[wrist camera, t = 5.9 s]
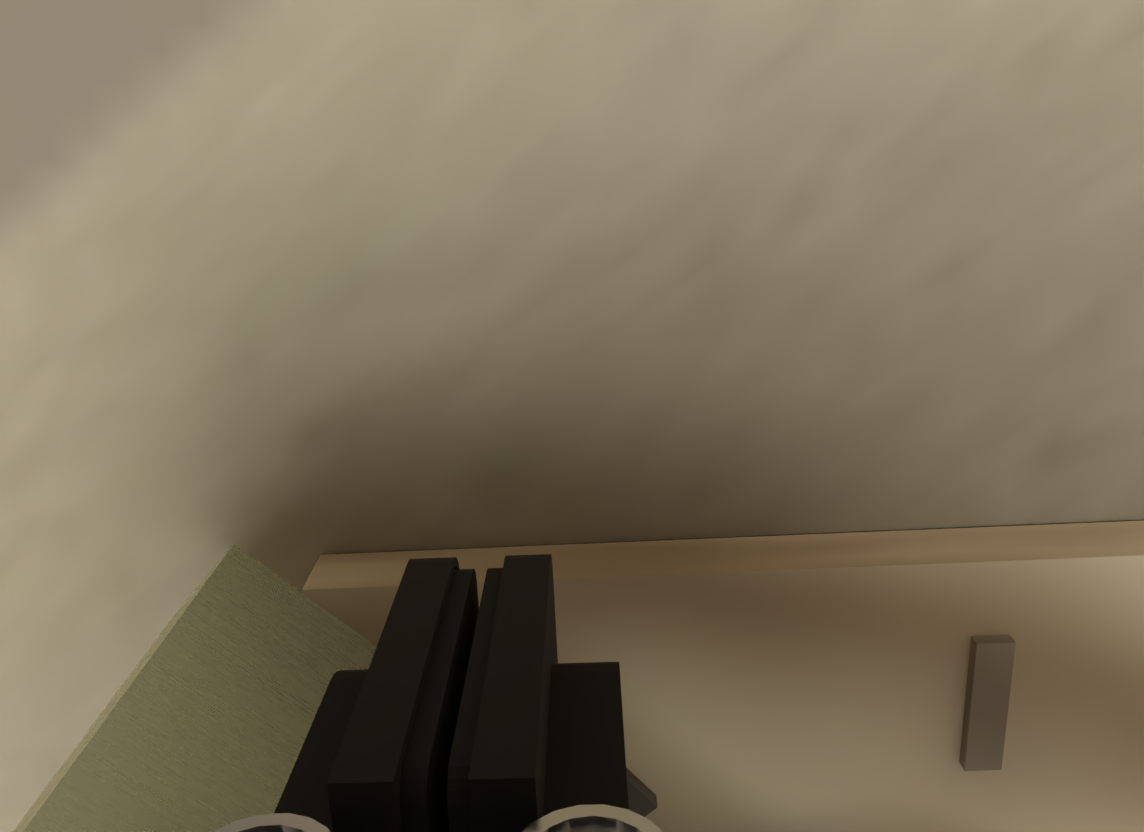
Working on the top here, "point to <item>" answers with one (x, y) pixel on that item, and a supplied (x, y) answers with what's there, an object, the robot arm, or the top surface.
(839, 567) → the board
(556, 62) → the top surface
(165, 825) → the green panel with knob
